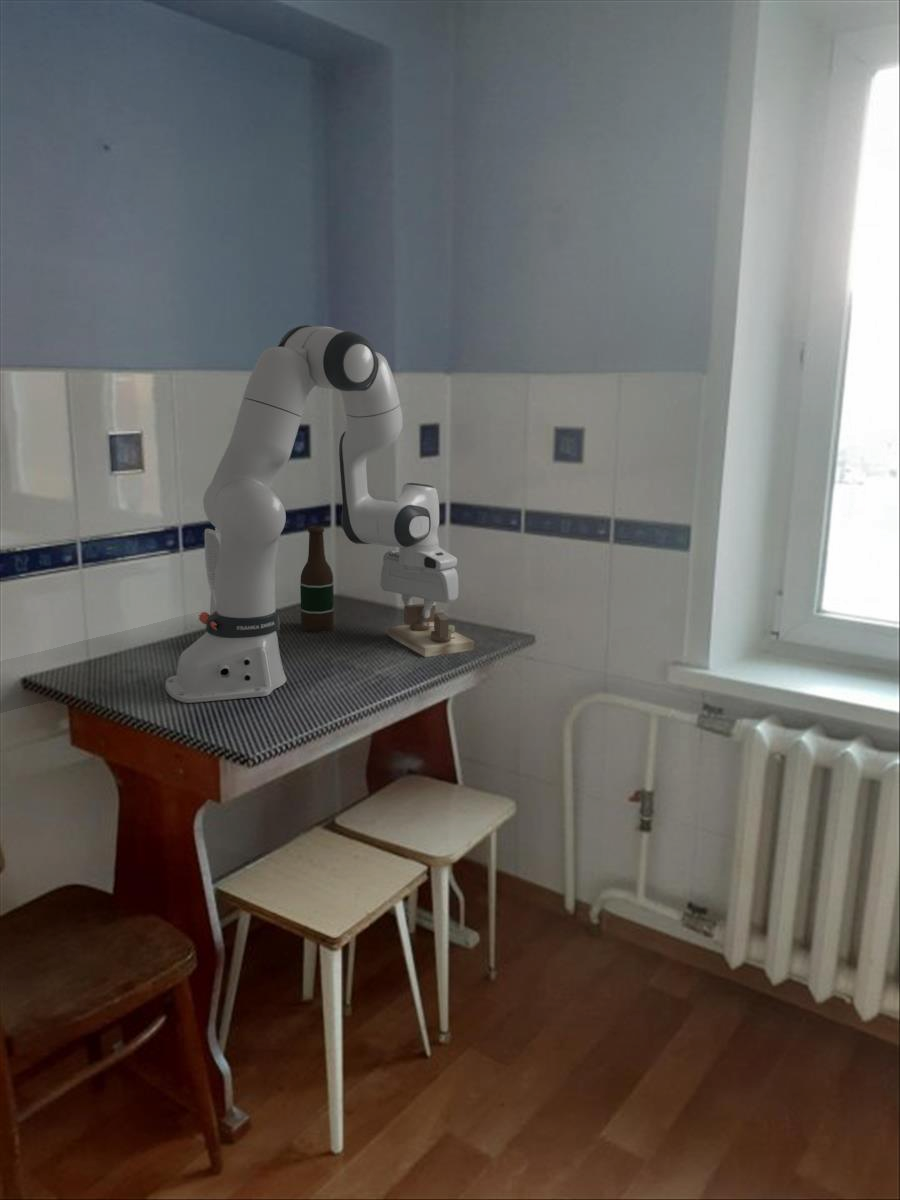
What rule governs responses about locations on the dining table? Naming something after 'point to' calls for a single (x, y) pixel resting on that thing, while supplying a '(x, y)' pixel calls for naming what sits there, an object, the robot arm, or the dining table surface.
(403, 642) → the control panel
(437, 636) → the knob near
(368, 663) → the dining table surface
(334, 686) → the dining table surface
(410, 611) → the knob far
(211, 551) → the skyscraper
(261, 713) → the dining table surface
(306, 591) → the beer bottle
